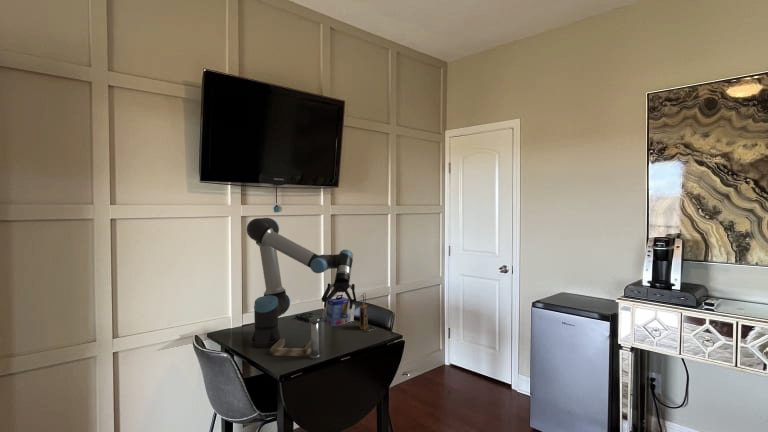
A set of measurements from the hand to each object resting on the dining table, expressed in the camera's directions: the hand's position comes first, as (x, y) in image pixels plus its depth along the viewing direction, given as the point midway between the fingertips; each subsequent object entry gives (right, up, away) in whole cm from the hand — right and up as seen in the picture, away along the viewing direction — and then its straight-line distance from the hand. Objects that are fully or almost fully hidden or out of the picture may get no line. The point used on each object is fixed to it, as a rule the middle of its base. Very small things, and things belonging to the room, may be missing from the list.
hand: (336, 314), depth 197 cm
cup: (0, -18, +55) cm, 58 cm away
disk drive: (-24, -18, +61) cm, 68 cm away
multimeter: (+14, -18, +40) cm, 46 cm away
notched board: (-22, -19, +5) cm, 29 cm away
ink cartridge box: (0, -6, +3) cm, 6 cm away
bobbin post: (-9, -19, -6) cm, 22 cm away
